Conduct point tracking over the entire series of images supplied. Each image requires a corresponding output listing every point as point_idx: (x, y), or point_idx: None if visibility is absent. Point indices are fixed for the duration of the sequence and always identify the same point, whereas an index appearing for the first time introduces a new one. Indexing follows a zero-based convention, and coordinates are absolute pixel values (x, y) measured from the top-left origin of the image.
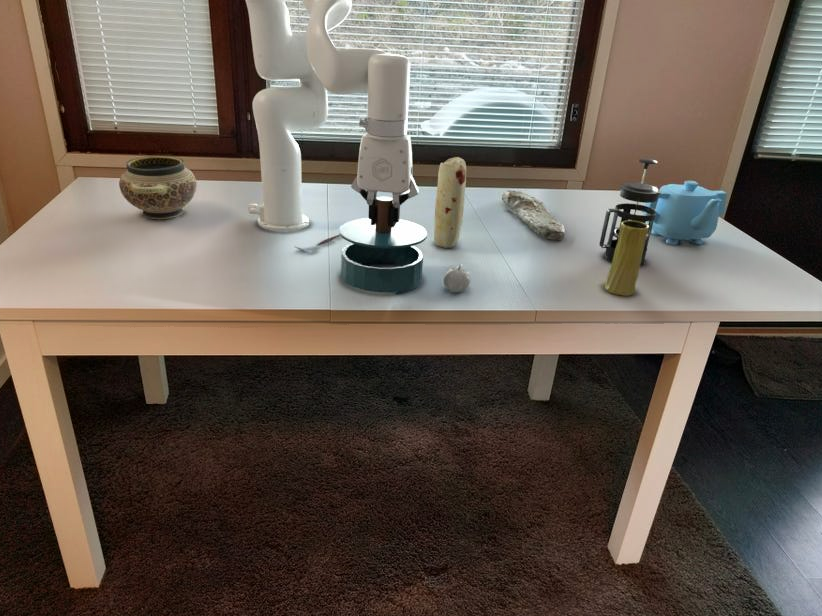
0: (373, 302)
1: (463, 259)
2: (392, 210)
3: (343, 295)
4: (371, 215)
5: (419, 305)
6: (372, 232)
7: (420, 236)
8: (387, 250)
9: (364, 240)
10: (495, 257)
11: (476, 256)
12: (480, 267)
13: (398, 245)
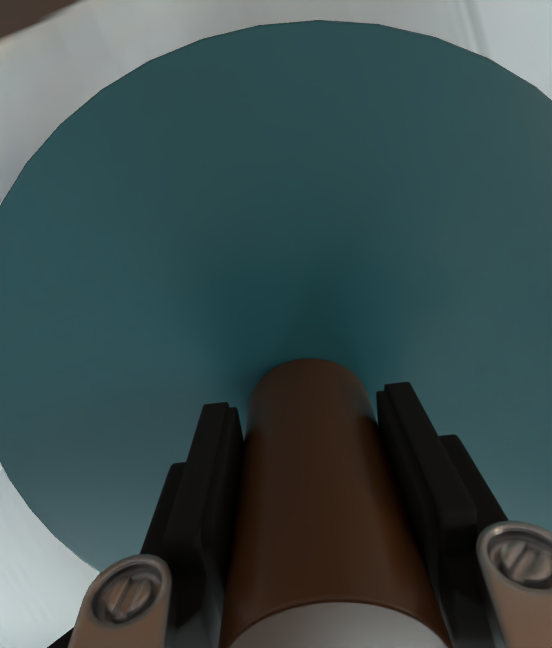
0: (232, 11)
1: (90, 575)
2: (187, 512)
3: (400, 23)
4: (429, 430)
5: (28, 88)
6: (375, 347)
7: (19, 417)
8: None
9: (375, 119)
10: (6, 624)
11: (64, 610)
12: (7, 538)
13: (51, 140)
